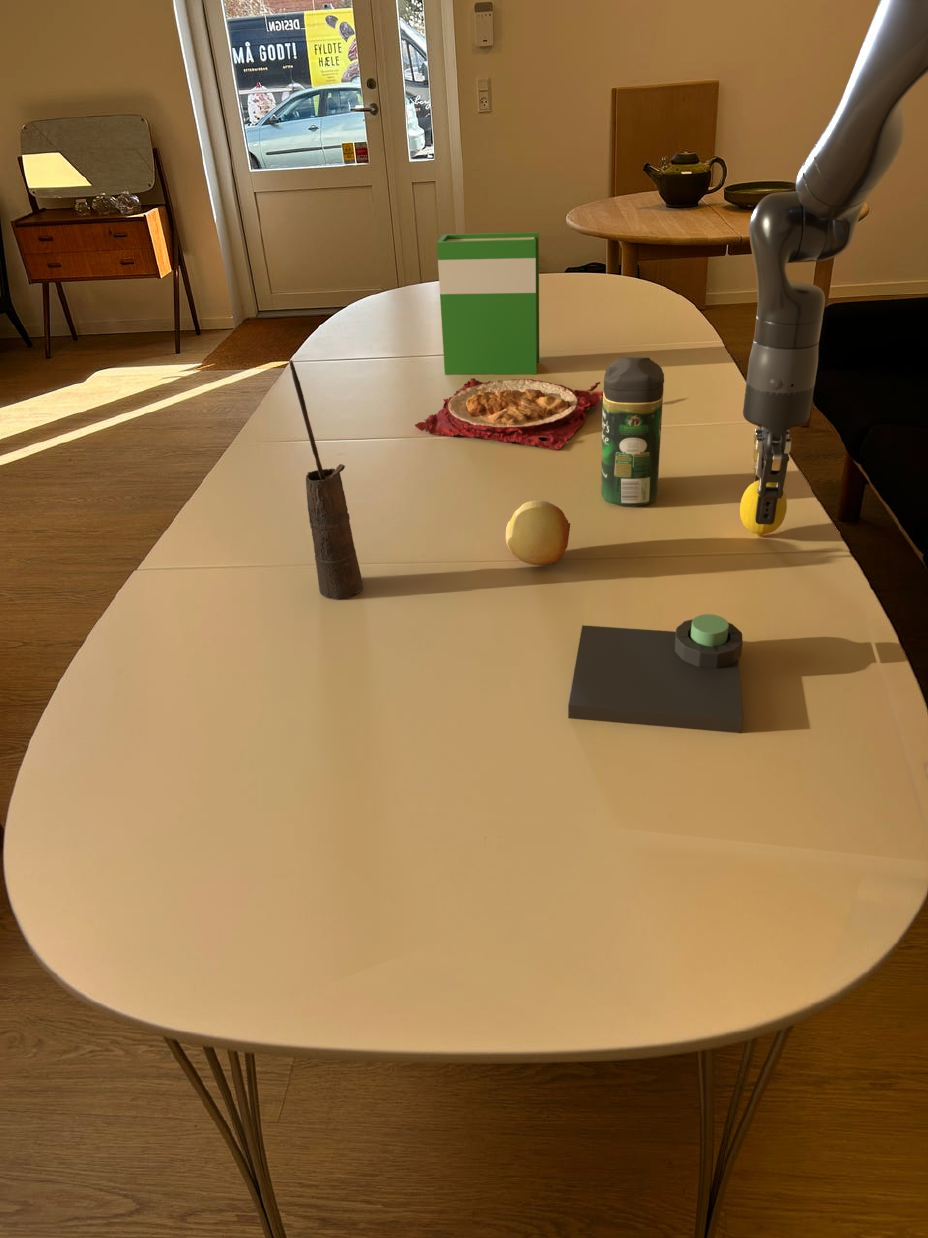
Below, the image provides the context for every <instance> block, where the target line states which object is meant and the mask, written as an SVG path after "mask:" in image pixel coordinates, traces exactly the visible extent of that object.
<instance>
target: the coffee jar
mask: <svg viewBox="0 0 928 1238" xmlns="http://www.w3.org/2000/svg"><path fill="white" fill-rule="evenodd" d="M664 383H665V373H664V371H663V368H662V366H660V365H659V364H658V363H657V362H655V361H654V360H653V359H651V358H650V357H648V356H646V357H645V356H642V357H641V356H640V357H639V356H633V357H632V356H629V357H628V356H626V357H625V356H623V357H619V358H618V359H617V360H616V361H614V362H613V363H611V364H610V365H608V367H607V368H606V369H605V373H604V378H603V390H602V391H603V397H602V410H601V411H602V412H601V413H602V414H601V468H600V469H601V473H600V491H601V497H602V499H603V500H604V501H605V502H606V503H610V504H612V505H617V506H619V507H627V508H628V507H629V508H630V507H634V508H635V507H638V506H643V505H648V504H651V503H653V502H654V501H655V499H656V498H657V496H658V488H659V486H658V485H659V475H660V473H659V470H660V452H661V440H662V439H661V436H662V422H663V421H662V419H663V403H664V391H665V390H664Z"/></svg>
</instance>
